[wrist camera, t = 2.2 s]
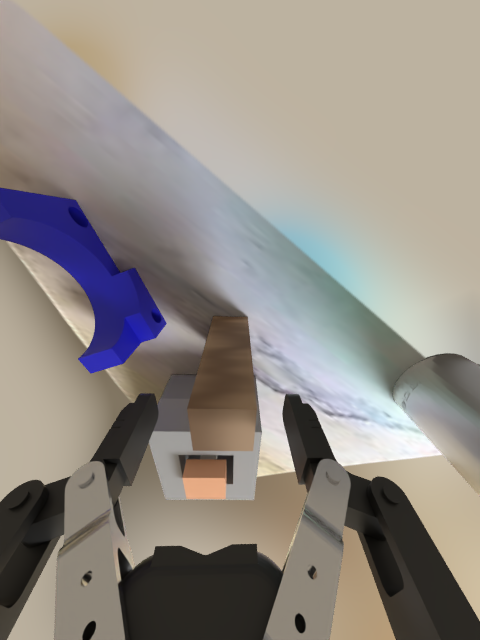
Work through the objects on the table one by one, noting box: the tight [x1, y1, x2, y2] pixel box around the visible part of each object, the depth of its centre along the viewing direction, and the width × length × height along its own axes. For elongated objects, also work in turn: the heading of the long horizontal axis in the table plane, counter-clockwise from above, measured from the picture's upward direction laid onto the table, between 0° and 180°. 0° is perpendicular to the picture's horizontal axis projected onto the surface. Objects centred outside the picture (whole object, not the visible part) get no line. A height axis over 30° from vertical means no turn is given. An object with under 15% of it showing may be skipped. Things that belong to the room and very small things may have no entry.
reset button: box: [182, 455, 227, 499], centre depth 19 cm, size 4×4×3 cm
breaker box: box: [149, 375, 262, 500], centre depth 22 cm, size 10×12×7 cm
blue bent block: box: [0, 188, 167, 373], centre depth 15 cm, size 12×4×6 cm, turn 19°
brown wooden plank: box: [187, 316, 257, 451], centre depth 15 cm, size 4×4×11 cm
